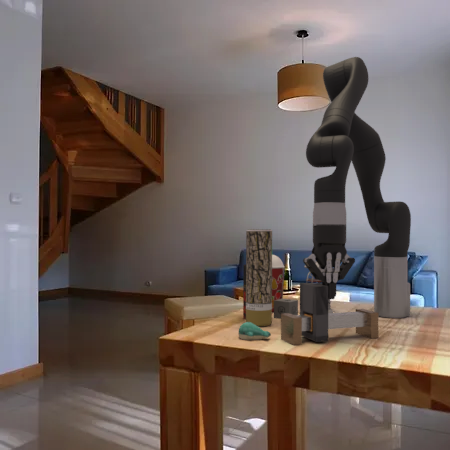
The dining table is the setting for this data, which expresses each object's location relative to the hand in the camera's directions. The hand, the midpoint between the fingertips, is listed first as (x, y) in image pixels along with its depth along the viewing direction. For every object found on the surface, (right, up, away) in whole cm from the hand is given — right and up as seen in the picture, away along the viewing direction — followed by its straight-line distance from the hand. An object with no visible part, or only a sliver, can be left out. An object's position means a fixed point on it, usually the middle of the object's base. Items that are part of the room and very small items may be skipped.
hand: (329, 298), depth 109 cm
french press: (+4, -10, +37) cm, 38 cm away
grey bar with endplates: (0, -9, 0) cm, 9 cm away
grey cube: (-7, -10, +26) cm, 29 cm away
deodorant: (-16, -10, +24) cm, 30 cm away
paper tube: (-15, -9, +16) cm, 24 cm away
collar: (-4, -9, -1) cm, 10 cm away
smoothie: (-10, -10, +37) cm, 39 cm away
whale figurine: (-17, -10, 0) cm, 20 cm away
